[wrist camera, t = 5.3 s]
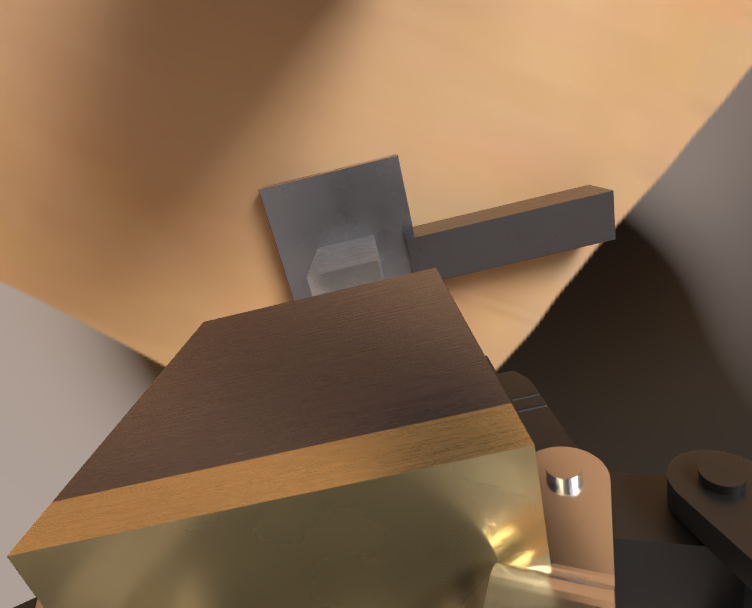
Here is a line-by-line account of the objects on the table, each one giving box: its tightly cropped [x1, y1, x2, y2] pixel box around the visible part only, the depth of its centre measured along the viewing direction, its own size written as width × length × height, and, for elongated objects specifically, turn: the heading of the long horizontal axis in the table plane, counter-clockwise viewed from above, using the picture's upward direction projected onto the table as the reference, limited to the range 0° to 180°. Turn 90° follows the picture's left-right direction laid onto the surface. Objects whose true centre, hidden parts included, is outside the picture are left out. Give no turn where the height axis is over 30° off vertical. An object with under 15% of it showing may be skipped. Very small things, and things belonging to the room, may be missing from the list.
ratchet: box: [259, 155, 615, 301], centre depth 22 cm, size 10×16×6 cm, turn 103°
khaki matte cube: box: [7, 268, 550, 608], centre depth 9 cm, size 6×6×7 cm
